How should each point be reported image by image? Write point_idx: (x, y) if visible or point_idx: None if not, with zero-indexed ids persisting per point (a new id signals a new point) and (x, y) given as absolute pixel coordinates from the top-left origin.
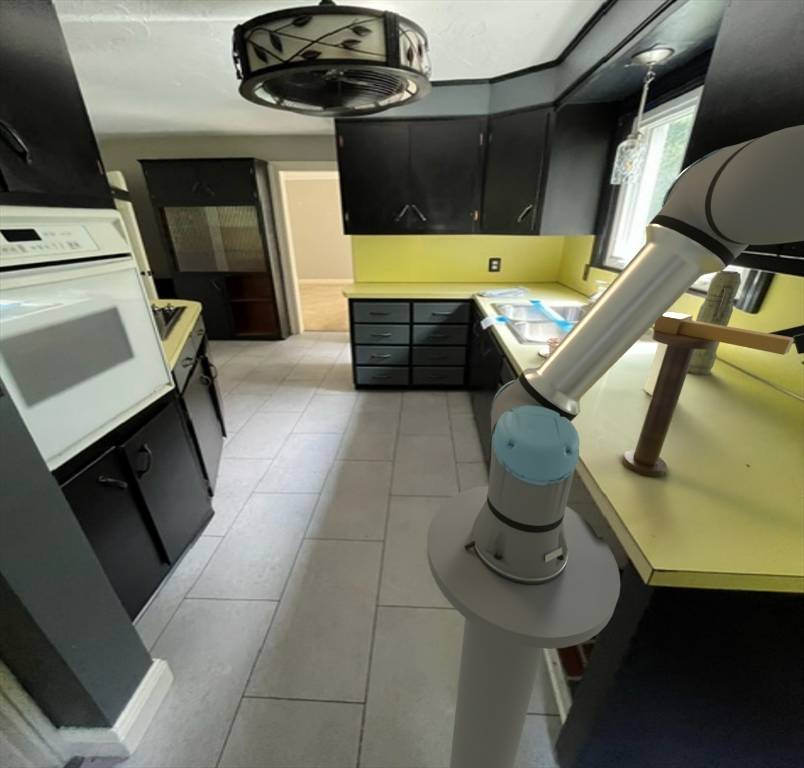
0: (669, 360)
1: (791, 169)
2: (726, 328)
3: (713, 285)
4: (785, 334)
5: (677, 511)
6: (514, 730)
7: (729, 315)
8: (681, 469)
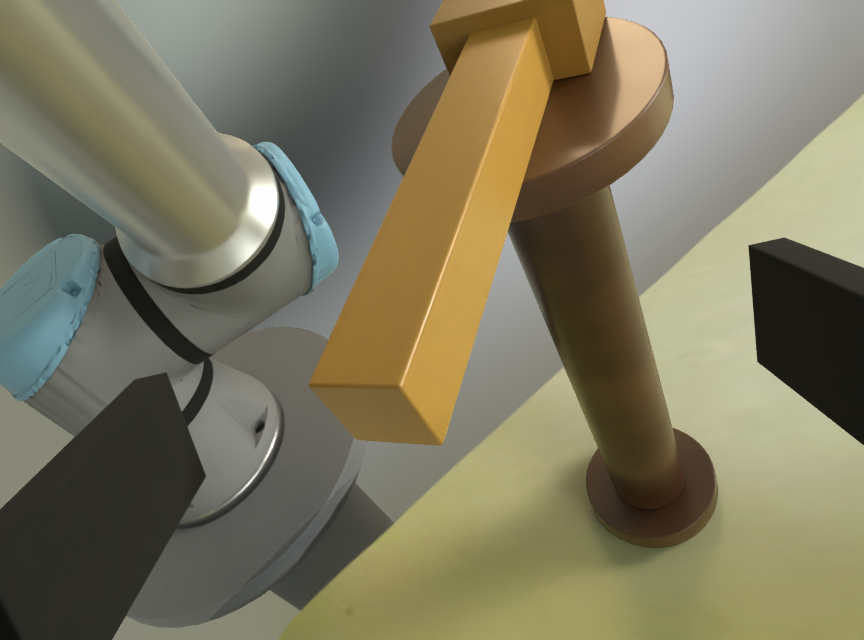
0: None
1: None
2: (424, 149)
3: None
4: (810, 315)
5: (483, 631)
6: None
7: None
8: (746, 580)
